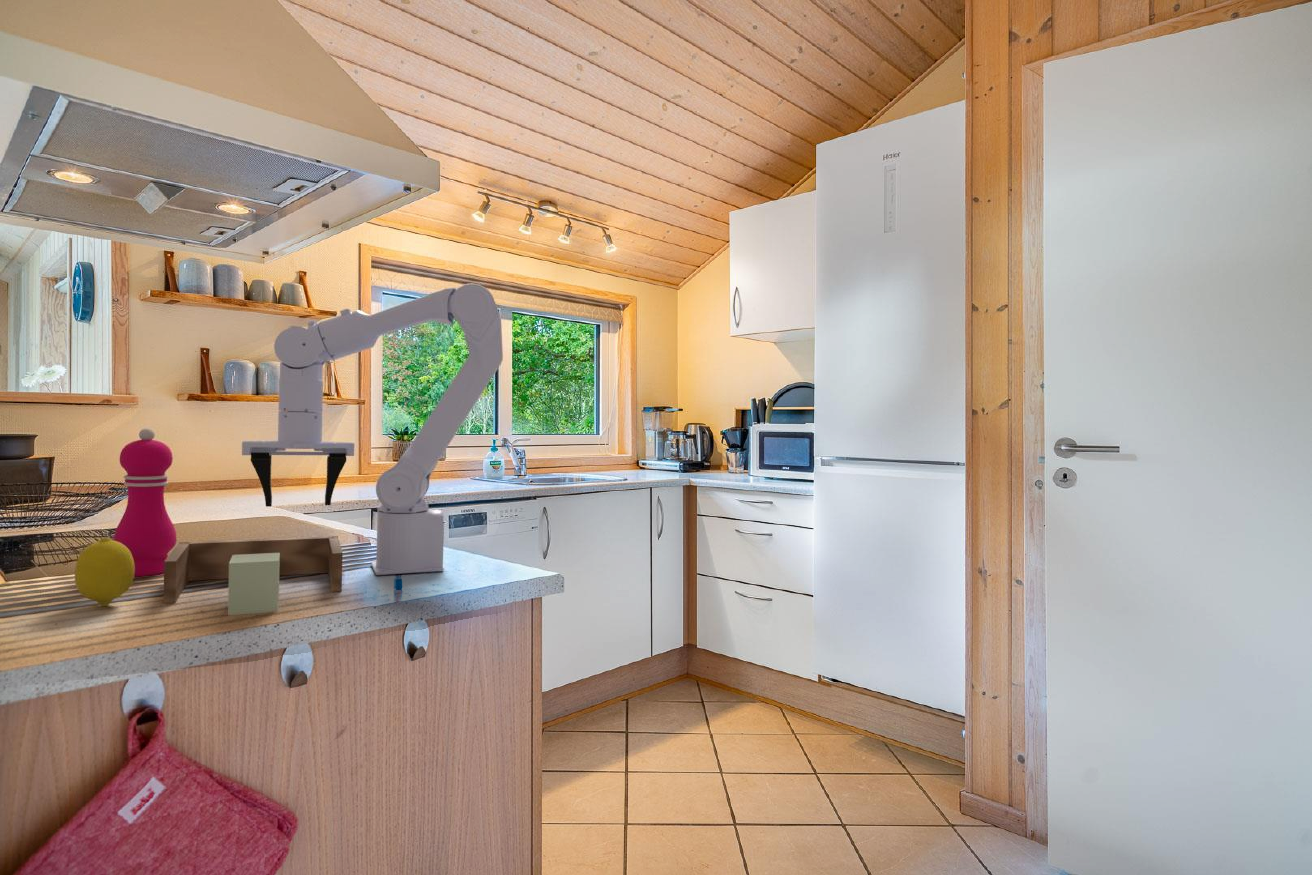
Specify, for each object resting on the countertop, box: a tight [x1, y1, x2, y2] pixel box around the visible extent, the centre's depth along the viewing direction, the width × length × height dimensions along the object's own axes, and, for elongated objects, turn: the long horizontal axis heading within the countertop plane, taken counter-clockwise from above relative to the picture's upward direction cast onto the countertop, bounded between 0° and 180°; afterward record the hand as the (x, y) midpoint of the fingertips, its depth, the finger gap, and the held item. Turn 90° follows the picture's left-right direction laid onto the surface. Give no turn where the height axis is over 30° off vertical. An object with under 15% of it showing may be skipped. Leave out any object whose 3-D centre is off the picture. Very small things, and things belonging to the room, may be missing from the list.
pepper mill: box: [112, 427, 178, 578], centre depth 99 cm, size 7×7×20 cm
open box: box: [163, 535, 344, 604], centre depth 95 cm, size 19×13×5 cm, turn 117°
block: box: [227, 553, 280, 616], centre depth 85 cm, size 5×5×6 cm
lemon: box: [74, 536, 135, 607], centre depth 83 cm, size 6×6×8 cm
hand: (298, 505), depth 104 cm, fingers open, 7 cm apart
